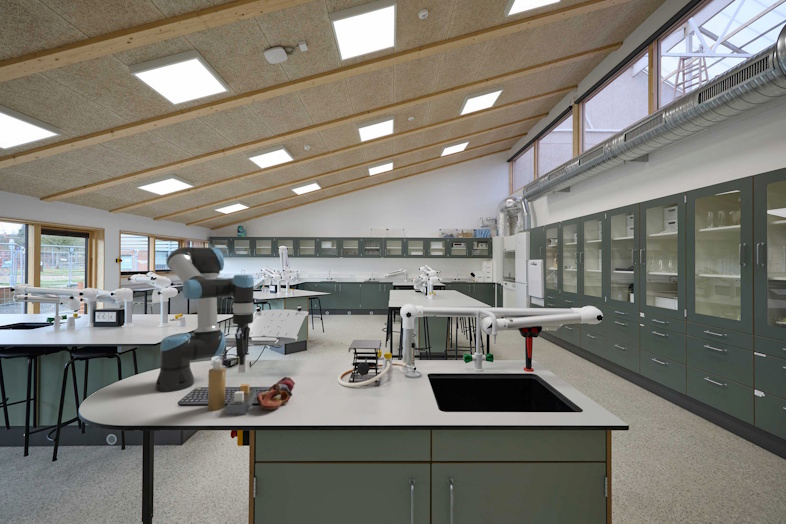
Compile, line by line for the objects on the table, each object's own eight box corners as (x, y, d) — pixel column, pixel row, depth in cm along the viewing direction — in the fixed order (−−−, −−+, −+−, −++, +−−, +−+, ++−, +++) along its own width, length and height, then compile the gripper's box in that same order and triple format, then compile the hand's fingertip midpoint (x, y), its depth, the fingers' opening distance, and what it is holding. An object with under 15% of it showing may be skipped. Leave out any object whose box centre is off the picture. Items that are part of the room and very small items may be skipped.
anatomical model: (250, 398, 133) (278, 366, 140) (257, 402, 144) (282, 372, 151) (272, 415, 131) (299, 382, 138) (277, 418, 143) (301, 387, 150)
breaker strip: (242, 393, 153) (242, 384, 153) (259, 392, 154) (259, 384, 154) (226, 415, 131) (226, 405, 131) (245, 414, 132) (245, 404, 132)
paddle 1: (235, 399, 136) (235, 391, 136) (243, 399, 137) (243, 391, 137) (234, 401, 134) (234, 393, 134) (242, 401, 135) (242, 393, 135)
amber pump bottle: (211, 404, 141) (212, 360, 141) (227, 404, 142) (227, 359, 142) (205, 411, 135) (206, 364, 135) (222, 410, 136) (222, 364, 136)
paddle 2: (241, 392, 144) (241, 384, 144) (249, 391, 145) (249, 384, 145) (240, 393, 142) (240, 386, 142) (247, 393, 143) (247, 385, 143)
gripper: (237, 311, 145) (237, 367, 145) (227, 315, 132) (227, 377, 132) (256, 310, 146) (256, 366, 146) (248, 315, 134) (247, 377, 134)
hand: (242, 372), depth 139 cm, fingers closed
